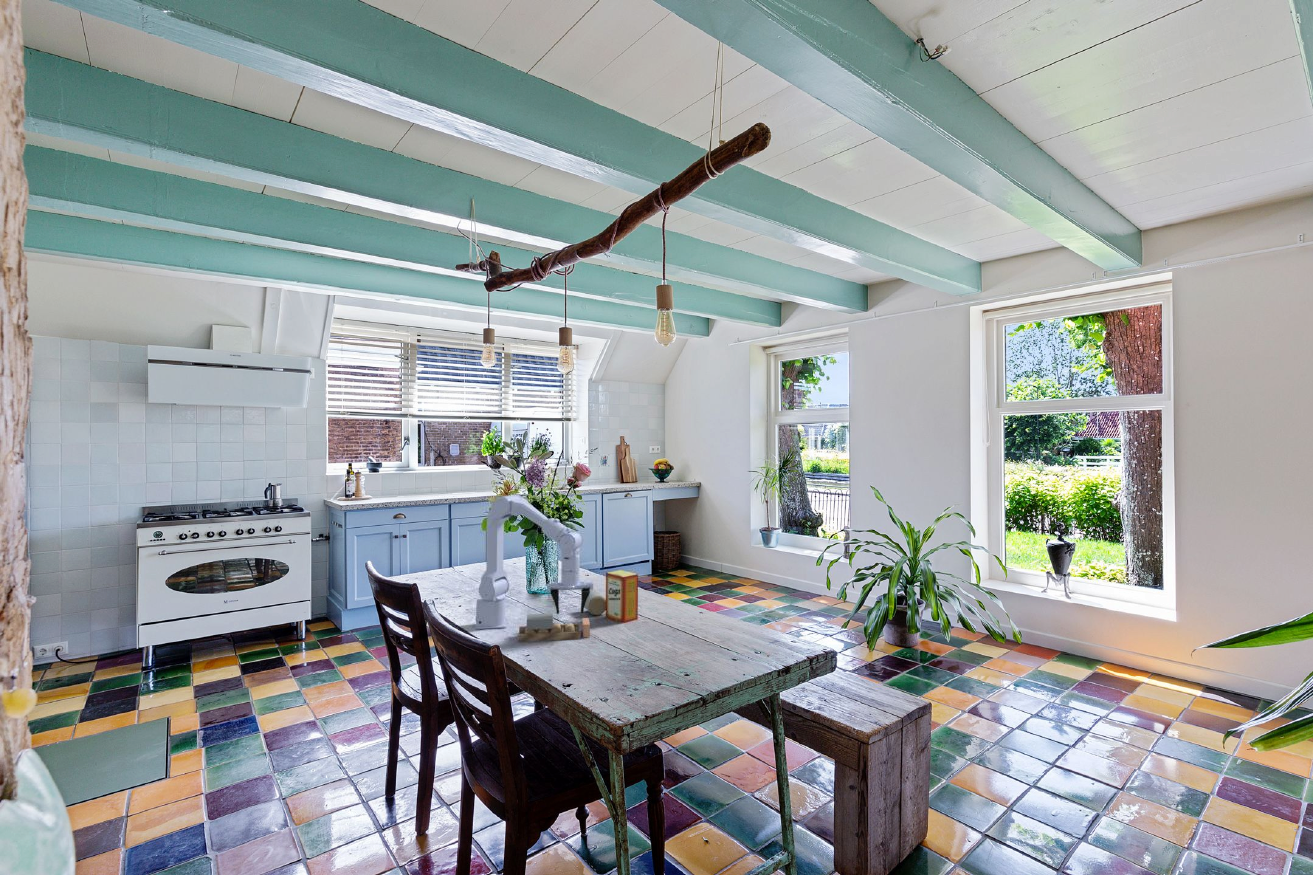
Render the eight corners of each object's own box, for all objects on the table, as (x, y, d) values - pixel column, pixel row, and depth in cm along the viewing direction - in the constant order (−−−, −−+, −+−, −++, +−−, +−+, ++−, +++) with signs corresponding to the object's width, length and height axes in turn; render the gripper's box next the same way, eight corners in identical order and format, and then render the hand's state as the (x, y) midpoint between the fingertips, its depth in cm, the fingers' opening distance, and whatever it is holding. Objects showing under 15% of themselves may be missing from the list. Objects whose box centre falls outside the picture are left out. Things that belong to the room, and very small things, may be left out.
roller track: (518, 641, 194) (518, 631, 194) (519, 632, 203) (519, 622, 203) (580, 638, 197) (580, 628, 197) (578, 629, 206) (578, 619, 206)
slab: (526, 629, 196) (526, 619, 196) (527, 623, 202) (527, 614, 202) (552, 628, 197) (552, 618, 197) (552, 622, 203) (552, 613, 203)
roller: (575, 637, 199) (575, 627, 199) (566, 638, 198) (565, 628, 198) (574, 631, 205) (574, 622, 205) (565, 632, 204) (564, 623, 204)
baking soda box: (605, 617, 221) (605, 571, 221) (619, 613, 225) (620, 568, 225) (623, 623, 214) (623, 576, 214) (637, 619, 218) (638, 573, 218)
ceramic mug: (588, 617, 220) (588, 595, 220) (581, 611, 228) (582, 589, 228) (616, 614, 225) (617, 593, 224) (609, 608, 232) (609, 587, 232)
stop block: (583, 637, 199) (583, 624, 199) (581, 630, 206) (582, 618, 206) (589, 636, 199) (589, 624, 199) (588, 630, 206) (588, 617, 206)
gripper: (547, 573, 196) (547, 616, 196) (594, 572, 199) (593, 615, 199) (547, 568, 203) (546, 610, 203) (592, 567, 206) (591, 608, 206)
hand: (569, 612), depth 201 cm, fingers open, 7 cm apart
